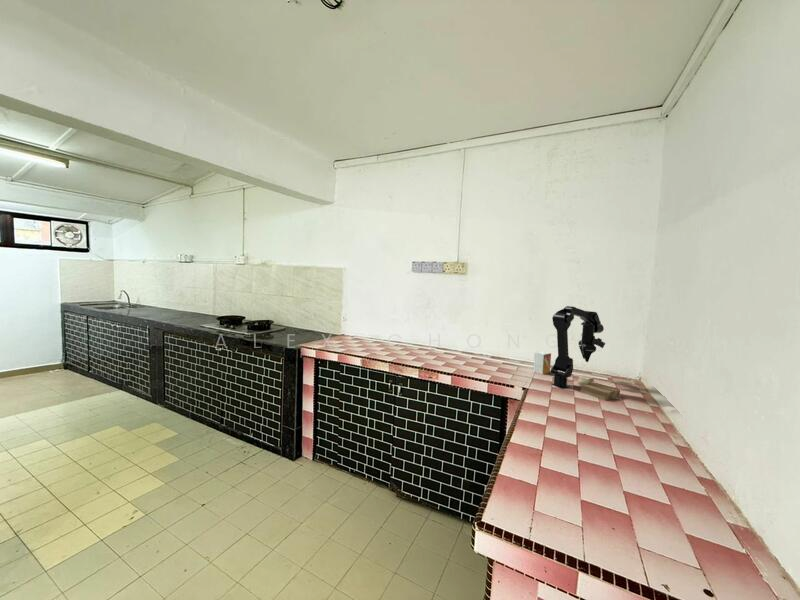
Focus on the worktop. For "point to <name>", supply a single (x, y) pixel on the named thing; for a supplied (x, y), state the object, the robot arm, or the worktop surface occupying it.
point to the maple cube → (585, 380)
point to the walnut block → (600, 391)
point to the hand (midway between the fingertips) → (585, 360)
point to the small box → (542, 362)
